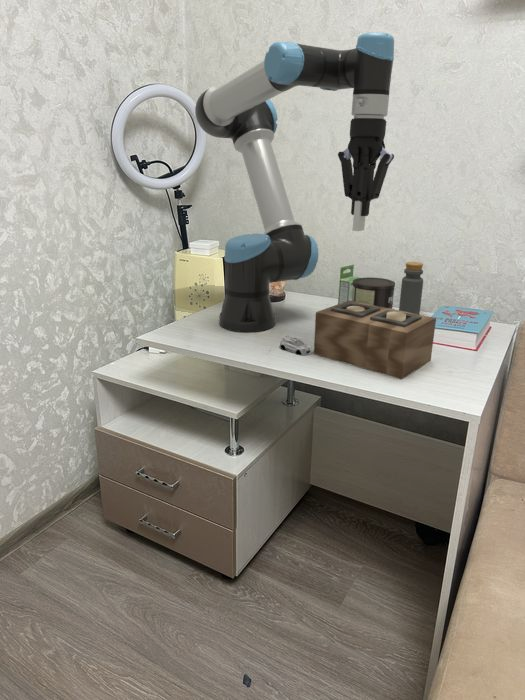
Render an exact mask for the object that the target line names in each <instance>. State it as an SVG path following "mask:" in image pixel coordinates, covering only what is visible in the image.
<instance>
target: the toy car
mask: <svg viewBox="0 0 525 700" xmlns="http://www.w3.org/2000/svg"><path fill="white" fill-rule="evenodd" d="M278 347H279V348H280V350H282V351H285V350H286V351H288V352H291V353H295V354H296V355H299V356H308V355H310V354H312V351H311V346H309V345H308V344H307V343H304V342H303V341H302V340H301V339H299V338H296V337H292V336H290V335H286V336H284V337H282V338H281V341H280V343H279V346H278Z"/></svg>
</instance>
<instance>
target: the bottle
mask: <svg viewBox="0 0 525 700" xmlns="http://www.w3.org/2000/svg"><path fill="white" fill-rule="evenodd" d="M423 267H424V264H423V262H417V261H407V262H405V268H404V272H403V273H404V274H405V276H403V277H402V279H401V286H400V287H401V288H400V295H399V296H400V297H399V307H398V310H399V311H404V312H409V313H414V314H419V315H421V314H420V313H421V305H422V297H423V288H424V279H423V277H421V275H423V274H424V270H423Z"/></svg>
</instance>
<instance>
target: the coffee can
mask: <svg viewBox="0 0 525 700" xmlns="http://www.w3.org/2000/svg"><path fill="white" fill-rule="evenodd" d="M395 286H396V282H395V281H394V280H391V279H387V278H383V277H372V276H371V277H368V276H367V277H360V278H357V279H354V280H353V292H352V301H355V302H360V303H365V304H370V305H375V306H379V307H384V308H389V309H393V305H394V304H393V303H394V295H395Z"/></svg>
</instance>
